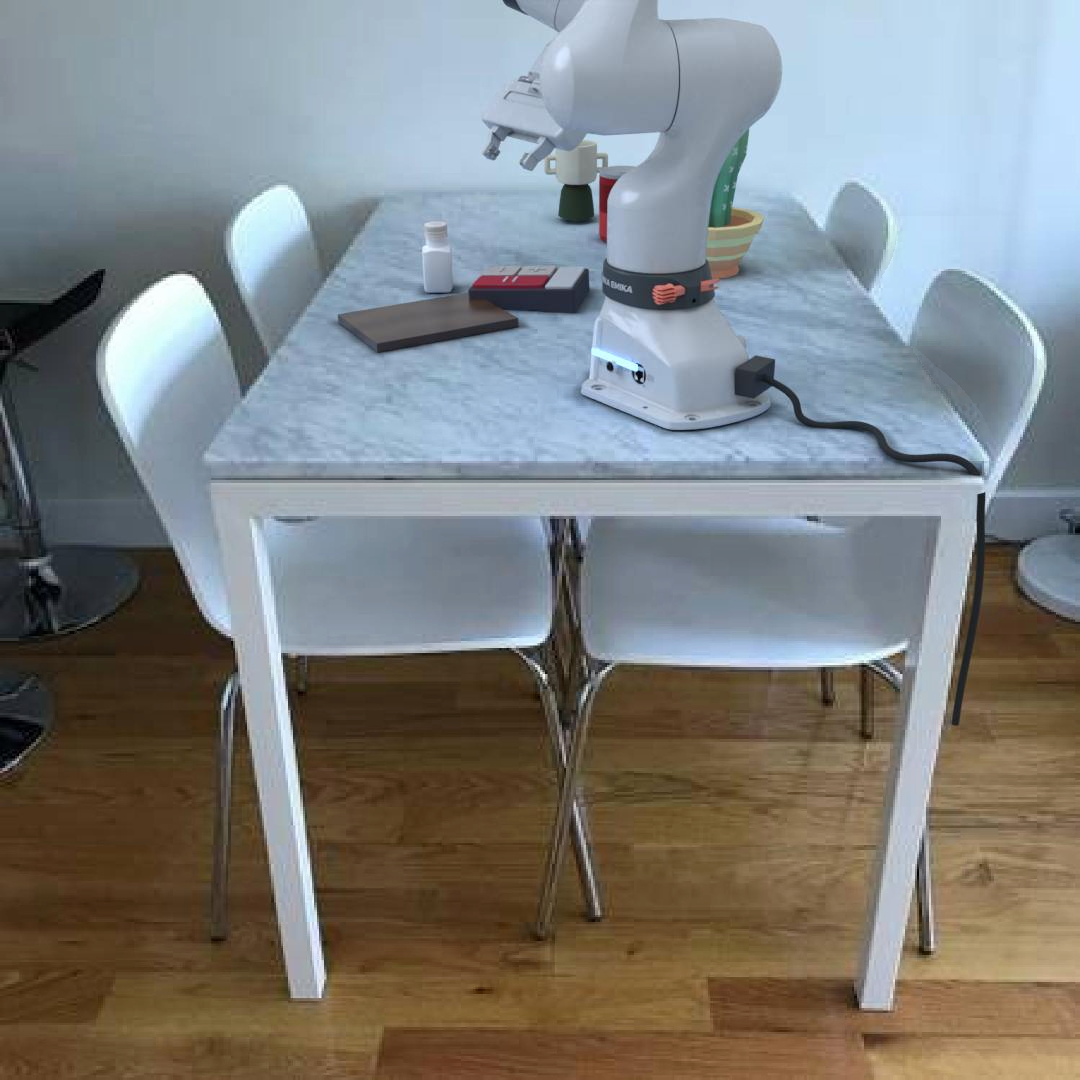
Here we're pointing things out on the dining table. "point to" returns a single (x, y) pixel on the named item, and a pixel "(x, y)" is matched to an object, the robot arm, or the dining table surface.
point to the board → (426, 321)
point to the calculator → (533, 288)
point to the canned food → (607, 193)
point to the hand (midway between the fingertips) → (505, 162)
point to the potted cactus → (730, 218)
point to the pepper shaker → (437, 259)
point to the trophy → (576, 178)
